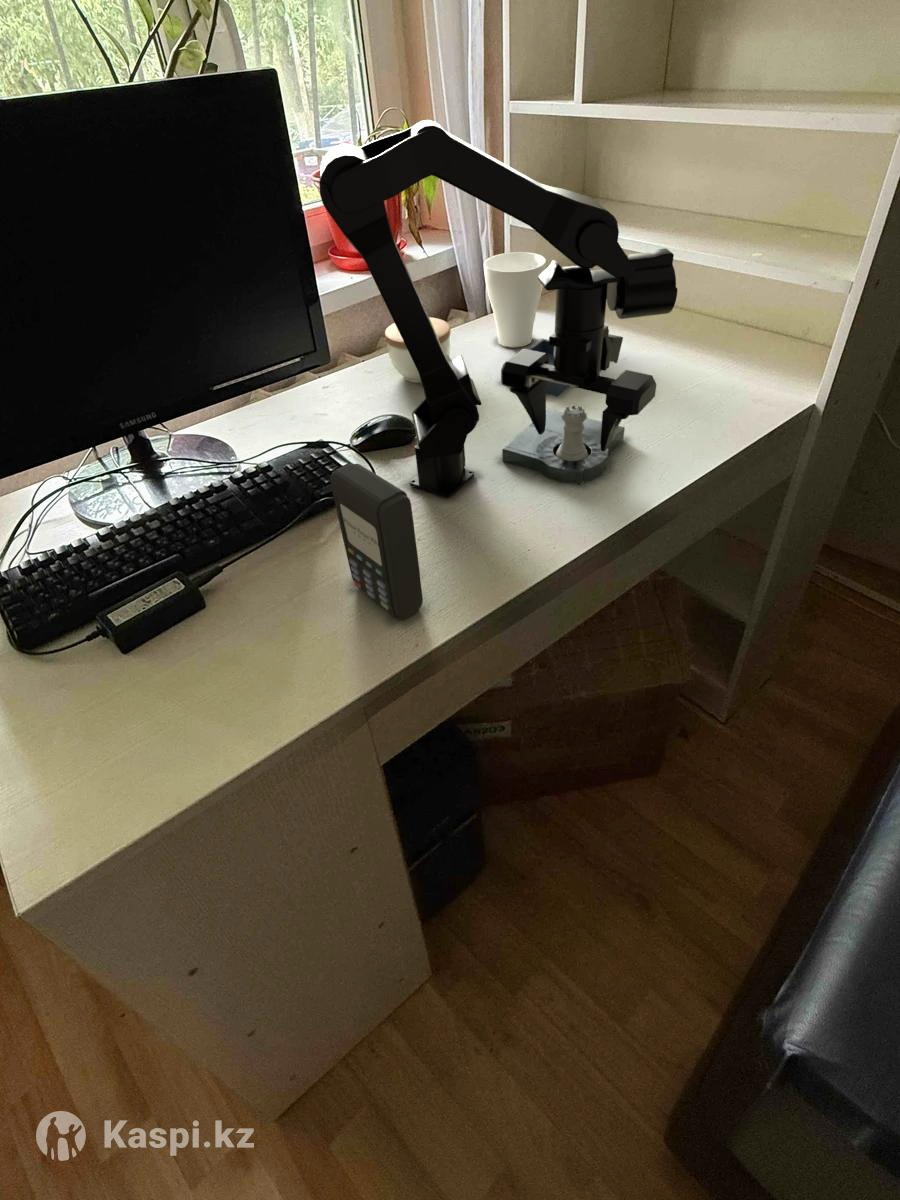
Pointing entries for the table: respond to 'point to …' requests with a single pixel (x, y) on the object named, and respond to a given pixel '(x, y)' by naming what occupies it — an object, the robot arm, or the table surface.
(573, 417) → the rook chess piece
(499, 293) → the cup
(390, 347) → the trinket box
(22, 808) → the table surface
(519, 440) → the drain plate
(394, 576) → the card reader
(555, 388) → the tray
